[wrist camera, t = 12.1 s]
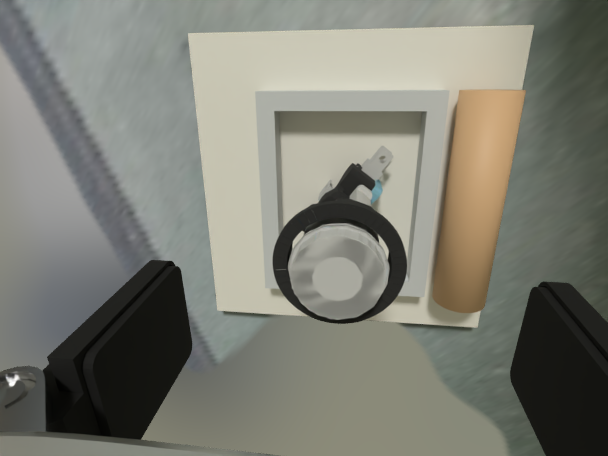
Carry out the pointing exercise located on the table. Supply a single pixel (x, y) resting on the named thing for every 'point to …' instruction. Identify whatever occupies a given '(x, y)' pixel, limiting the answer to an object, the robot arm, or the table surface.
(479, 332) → the table surface
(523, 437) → the table surface
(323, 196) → the push button
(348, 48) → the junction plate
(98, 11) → the table surface
